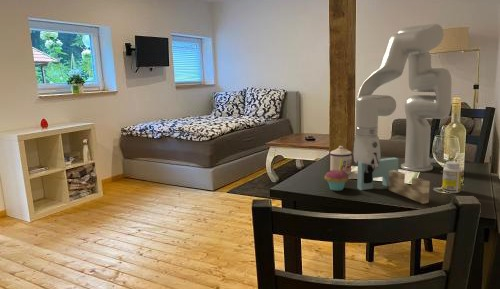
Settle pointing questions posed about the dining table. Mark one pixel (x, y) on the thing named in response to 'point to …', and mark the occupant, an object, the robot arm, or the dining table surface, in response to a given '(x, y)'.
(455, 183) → the supplement bottle
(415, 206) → the dining table surface
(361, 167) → the teal slotted plate
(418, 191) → the birch slotted plate
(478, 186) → the dining table surface
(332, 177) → the cupcake
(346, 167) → the teacup with lid
